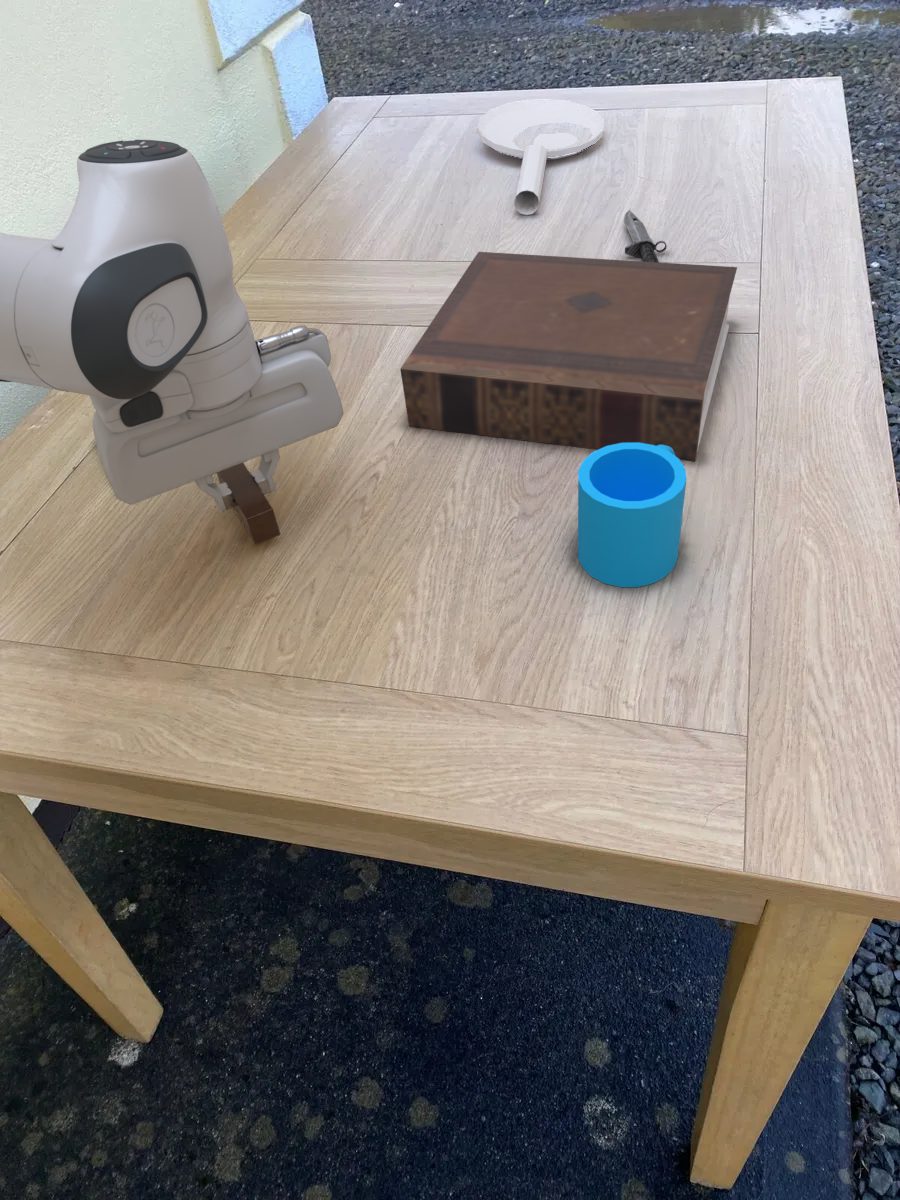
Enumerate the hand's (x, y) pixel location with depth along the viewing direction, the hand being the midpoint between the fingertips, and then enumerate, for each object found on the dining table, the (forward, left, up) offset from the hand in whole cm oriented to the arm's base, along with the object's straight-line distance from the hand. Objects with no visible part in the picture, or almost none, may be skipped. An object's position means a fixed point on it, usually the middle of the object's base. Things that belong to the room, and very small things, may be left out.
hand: (246, 498), depth 81 cm
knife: (+59, +21, -3) cm, 62 cm away
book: (+37, +3, -3) cm, 37 cm away
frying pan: (+64, +53, -3) cm, 83 cm away
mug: (+27, -21, -3) cm, 34 cm away
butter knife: (0, +6, -2) cm, 6 cm away
